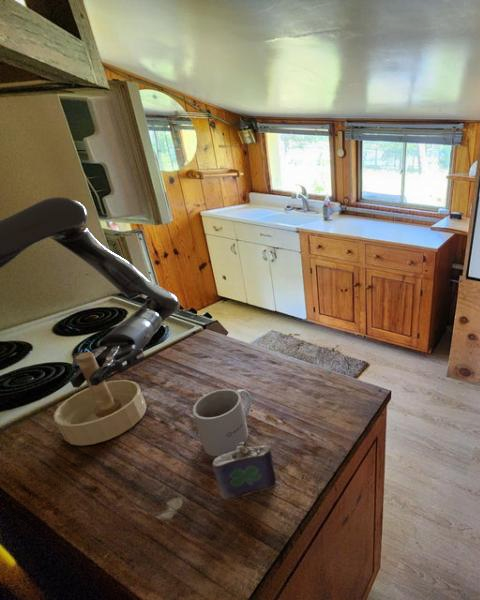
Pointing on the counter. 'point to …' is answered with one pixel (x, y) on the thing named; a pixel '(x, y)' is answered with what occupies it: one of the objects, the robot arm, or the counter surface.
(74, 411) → the bowl
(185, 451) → the counter surface
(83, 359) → the stick
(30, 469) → the counter surface
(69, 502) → the counter surface
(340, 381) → the counter surface
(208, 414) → the mug
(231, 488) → the flask
